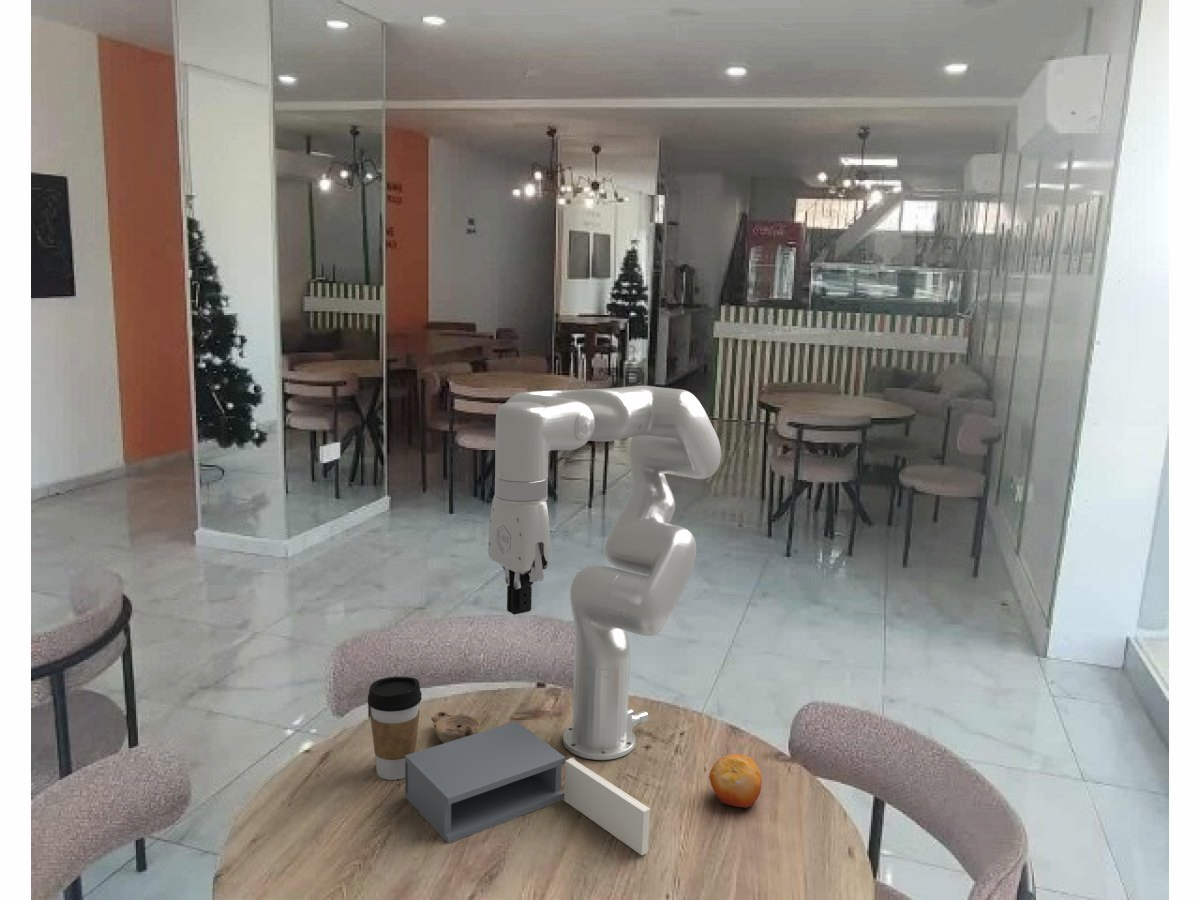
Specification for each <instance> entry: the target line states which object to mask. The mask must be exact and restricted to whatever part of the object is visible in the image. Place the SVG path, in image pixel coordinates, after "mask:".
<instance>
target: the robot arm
mask: <svg viewBox="0 0 1200 900" xmlns="http://www.w3.org/2000/svg"><path fill="white" fill-rule="evenodd" d="M628 438H630V442H629V459H630V461H629V462H630V470H631V482H632V483H631V485H632V486H631V491H630V494H629V497H628V499H627V501H626V503H625V505H624V507H623V508H622V511H621V513H620V514H619V515H618V518H617V519H616V521H615V523H614V525H613V527H612V529H611V530H610V533H609V534H608V536H607V539H606V542H605V545H604V556H605V558H606V560H607V562H608V563H610V565H611V566H613V567H611V566H604V565H589V566H586V567H584V568H582V569H580V570H579V571H578V572H577V573H576V574H575V576H574V578H573V579H572V582H571V585H570V593H569V594H570V595H569V596H570V597H569V598H570V607H571V613H572V619H573V625H574V626H573V627H574V628H573V629H574V658H573V659H574V660H573V661H574V662H573V663H574V664H573V689H572V690H573V692H572V693H573V694H572V695H573V698H572V723H571V725H569V726H568V727H567V728H566V729H565V730H564V731H563V733H562V735H563V736H562V743H563V746H564V748H565V749H567V750H568V751H569V752H570V753H572V754H573V755H575V756H578V757H580V758H583V759H587V760H594V761H609V760H614V759H615V760H617V759H619V758H622V757H624V756H626V755H628V754H630V753H631V752H632V751H633V749H634V748H635V746H636V735H635V733H634V731H633V729H634V728H635V727H636V725H640V724H643V723H646V722H649V714H648V712H647V711H646V710H642V711H639V712H636V713H635V712H634V710H633V709H632V708H629V689H630V667H631V665H630V663H631V645H630V640H629V636H628V634H627V632H628V633H632V634H636V635H640V636H646V637H651V636H656V635H658V634H659V633H661V632H662V631H663V629H664V628H665V627H666V626H667V625H668V622H669V620H670V618H671V616H672V615H673V613H674V611H675V609H676V606H677V604H678V602H679V600H680V598H681V595H683V592H684V589H685V588H686V586H687V583H688V581H689V579H690V578H691V577H690V576H691V574H692V572H693V570H694V567H695V563H696V558H697V542H696V539H695V536H694V535H693V533H692V532H691V531H690V530H689V529H687V528H685V527H683V526H680V525H677V524H671V521H672V518H673V516H674V514H675V511H676V501H675V496H674V494H673V491H672V489H671V487H670V486H669V483H668V481H667V478H666V475H667V474H668V475H670V476H671V475H672V476H677V477H683V478H690V479H695V480H696V479H697V480H702V479H707V478H710V477H712V476H713V475H714V474H715V473H716V472H717V471H718V469H719V466H720V464H721V461H722V449H721V443H720V439H719V437H718V435H717V433H716V430H715V429H714V427H713V424H712V422H711V420H710V418H709V416H708V413H707V412H706V410H705V408H704V407H703V406H702V404H701V401H700V400H699V399H698V398H697V397H696V396H695V395H694V394H693V393H692V392H690V391H688V390H685V389H679V388H671V387H660V386H651V385H634V386H633V385H632V386H621V387H611V388H610V387H609V388H585V389H572V390H571V389H567V390H564V389H563V390H559V389H558V390H536V391H525V392H518V393H516V394H514V395H512V396H511V397H509V399H507V400H506V402H505V403H502V404H500V405H499V407H498V408H497V410H496V413H495V443H494V444H495V446H494V447H495V452H494V454H495V459H494V460H495V462H494V463H495V464H494V465H495V466H494V473H495V474H494V476H495V477H494V495H493V498H492V503H491V508H490V515H489V526H488V528H489V529H488V539H487V540H488V542H487V543H488V544H487V549H488V551H487V552H488V557H489V558H490V559H491V560H492V561H494V562H495V563H496V564H498V565H500V566H501V567H502V568H503V570H504V571H503V572H504V581H505V583H506V590H507V592H506V611H507V612H508V613H511V614H512V615H520V614H524V613H528V612H530V611H532V592H533V591H532V589H533V588H532V587H533V586H534V585H535V583H537V582H543V581H544V576H545V575H544V570H546V569H547V568H549V565H550V564H549V563H550V553H551V549H550V548H551V533H550V532H551V531H550V518H549V509H548V502H547V501H548V491H549V489H548V487H549V486H548V485H549V454H550V453H549V452H550V451H573V450H577V449H578V448H581V447H583V446H585V444H587V443H588V442H589V441H590V442H591V441H592V442H613V441H617V440H623V439H628ZM665 474H666V475H665ZM634 713H635V714H634Z"/></svg>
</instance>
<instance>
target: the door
mask: <svg viewBox="0 0 1200 900" xmlns="http://www.w3.org/2000/svg"><path fill="white" fill-rule="evenodd" d="M564 765H565V767H564V802H565V803H567V804H568V805H569V806H572V807H573V808H574V809H576V810H577V811H578V812H579V813H581V814H583V816H586V817H587V818H588V819H589V820H591V821H593V822H594V823H596V825H598V826H599V827H601V828H602V829H604V830H605V831H607V832H608V833H609V834H611V835H612V836H614V837H615V838H616V839H618V840H619V841H621V842H623V844H625V845H626V846H627V847H629V848H631V849H632V850H634V851H635V852H636V853H638V854H639V855H641V856H644V855H645V854H648V853H649V843H650V841H649V840H650V838H649V837H650V817H651V808H649V807H648V806H647V805H645V804H644V803H642V802H640V801H639V800H637V799H636V798H635V797H633V796H631V795H629V793H626V792H625V791H623V790H622V789H620V787H617V785H614V784H613V783H611V782H610V781H608V780H606V779H605V778H603V777H602V776H600V775H599V774H597V773H596V772H594V771H593V770H591V769H589V768H588V767H587V766H585V765H584V764H581V763H580V762H579V761H577V760H576V758H575V757H574V756H571V757H569V759H565V764H564Z"/></svg>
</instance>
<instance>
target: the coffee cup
mask: <svg viewBox="0 0 1200 900" xmlns="http://www.w3.org/2000/svg"><path fill="white" fill-rule="evenodd" d="M422 695H423V694H422V691H421V686H420V680H419V679H418V678H415V677H411V676H388V677H384V678H380V679H377V680H376V681H374V682H372V683H371V684H370V686H369V690H368V695H367V704H368V706H369V707H370V714H369V715H370V725H371V733H372V743H373V749H374V757H375V767H376V769H375V770H376V774H377V776H378V777H379V778H380V779H383V780H386V779H387V780H388V781H398V780H397V779H399V780H402V779H405V755H408V754H411V753H415V752H416V750H417V741H418V740H417V739H418V732H419V731H418V730H419V721H420V720H419V719H420V708H419V705H420V703H421V701H422Z"/></svg>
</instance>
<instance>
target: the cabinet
mask: <svg viewBox="0 0 1200 900" xmlns="http://www.w3.org/2000/svg"><path fill="white" fill-rule="evenodd" d="M565 761H566V757H565V756H564V755H563V754H561V752H559V751H558V750H556V749H554V747H552V746H551V745H549V743H547V742H545V741H544V740H543V739H542V738H540V737H539V736H538V735H536V734H535V733H533V731H531V730H530V729H529V728H527V727H526V726H525V725H523V723H521V722H519V721H518V720H516V721H513V722H509V723H506V724H502V725H500V726H497V727H496V726H495V727H493V728H490V729H486V730H483V731H479V733H476V734H473V735H470V736H467V737H463V738H460V739H457V740H454V741H450V742H447V743H441V744H437V745H434V746H431V747H428V748H425V749H422V750H419V751H418V750H417V751H415V753H411V754H408V755H405V778H404V780H405V781H404V783H405V784H404V790H405V791H404V793H405V794H404V795H405V799H406V800H407V801H408V803H410V804H411V805H412V806H413V808H414V809H417V810H418V811H419V812H418V811H417V810H416V811H417V812H418V813H419V814H420V813H421V814H420V815H421V816H422V817H423V818H424V820H425V821H426V822H427V823H428V822H429V823H428V824H429V825H430V826H431V827H432V828H433V829H434V830H435V832H437V833H438V835H439V836H440V837H441V838H442V839H443V840H444V841H445V842H446V843H447V844H451V843H454V842H456V841H459V840H461V839H464V838H467V837H469V836H473V835H475V834H477V833H480V832H482V831H485V830H487V829H490V828H493V827H496V826H498V825H500V824H503V823H506V822H508V821H511V820H513V819H516V818H518V817H522V816H525V815H526V814H529V813H531V812H534V811H537V810H540V809H543V808H545V807H547V806H551V805H553V804H555V803H558V802H561V801H563V800H564V795H565V792H563V790H561V788H562V766H563V765H565Z"/></svg>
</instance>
